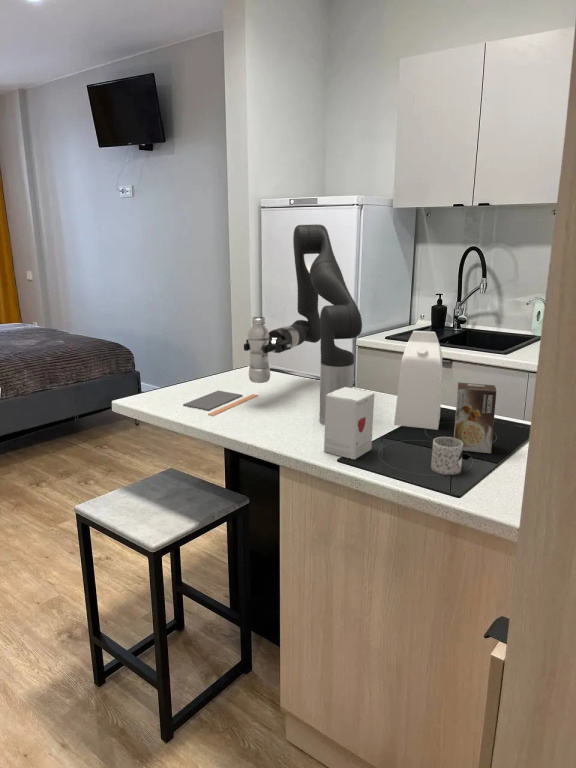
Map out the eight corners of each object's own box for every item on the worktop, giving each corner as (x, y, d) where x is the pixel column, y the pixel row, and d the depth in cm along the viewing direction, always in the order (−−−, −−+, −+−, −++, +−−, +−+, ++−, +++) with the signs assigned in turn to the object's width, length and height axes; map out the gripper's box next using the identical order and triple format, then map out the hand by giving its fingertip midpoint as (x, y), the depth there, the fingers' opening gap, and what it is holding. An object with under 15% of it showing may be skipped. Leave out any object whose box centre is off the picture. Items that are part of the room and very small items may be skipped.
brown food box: (489, 445, 142) (496, 384, 138) (491, 454, 136) (498, 391, 132) (452, 441, 145) (458, 381, 141) (452, 449, 139) (457, 388, 135)
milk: (440, 416, 164) (447, 329, 157) (437, 429, 153) (445, 336, 146) (398, 412, 167) (404, 327, 160) (394, 424, 157) (399, 334, 150)
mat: (242, 396, 183) (242, 394, 182) (208, 411, 168) (208, 409, 167) (218, 391, 187) (218, 390, 187) (183, 405, 172) (183, 404, 172)
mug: (464, 475, 125) (467, 447, 123) (435, 475, 125) (437, 447, 123) (451, 457, 134) (453, 431, 133) (424, 457, 134) (426, 431, 133)
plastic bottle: (270, 385, 167) (269, 319, 162) (247, 385, 167) (246, 319, 162) (271, 379, 174) (270, 316, 168) (249, 379, 174) (248, 315, 168)
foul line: (257, 395, 183) (257, 394, 183) (213, 416, 163) (213, 415, 163) (252, 394, 184) (252, 394, 184) (207, 414, 164) (207, 413, 164)
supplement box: (354, 460, 132) (357, 400, 128) (323, 452, 137) (324, 394, 133) (372, 449, 139) (375, 392, 135) (342, 441, 144) (344, 385, 140)
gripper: (264, 325, 182) (234, 334, 168) (302, 329, 175) (274, 338, 161) (264, 348, 184) (235, 358, 170) (302, 352, 177) (275, 363, 163)
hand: (254, 348), depth 166 cm, fingers closed on plastic bottle, 6 cm apart
